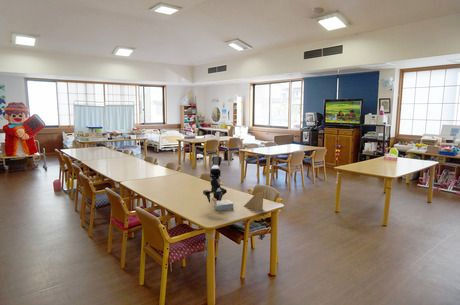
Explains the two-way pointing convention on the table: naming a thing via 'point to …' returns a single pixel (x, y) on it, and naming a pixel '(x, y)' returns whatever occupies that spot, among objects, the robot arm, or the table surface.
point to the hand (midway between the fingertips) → (214, 202)
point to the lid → (221, 202)
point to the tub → (224, 207)
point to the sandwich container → (255, 202)
